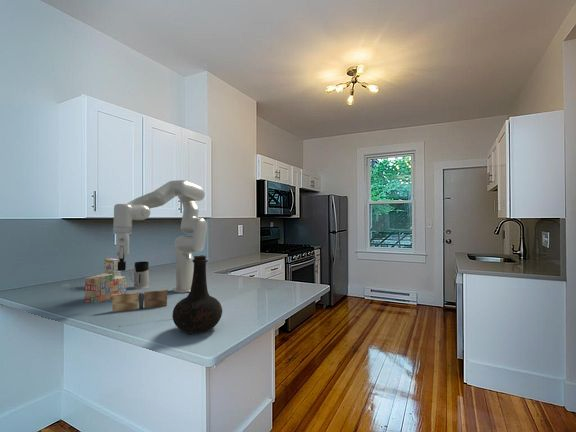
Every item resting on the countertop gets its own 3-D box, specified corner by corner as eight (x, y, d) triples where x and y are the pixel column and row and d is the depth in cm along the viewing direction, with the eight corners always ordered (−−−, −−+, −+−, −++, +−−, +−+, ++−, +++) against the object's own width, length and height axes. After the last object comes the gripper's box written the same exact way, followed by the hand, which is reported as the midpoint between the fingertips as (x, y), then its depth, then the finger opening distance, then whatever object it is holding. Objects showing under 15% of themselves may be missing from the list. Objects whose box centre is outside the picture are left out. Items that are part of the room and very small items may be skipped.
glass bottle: (161, 334, 111) (162, 257, 111) (193, 319, 128) (194, 252, 128) (202, 342, 105) (204, 260, 105) (230, 325, 122) (231, 254, 122)
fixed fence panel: (166, 305, 145) (167, 289, 145) (167, 306, 143) (167, 290, 144) (138, 308, 140) (139, 292, 140) (138, 310, 138) (139, 292, 138)
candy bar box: (103, 285, 187) (103, 258, 187) (111, 284, 191) (111, 258, 191) (113, 288, 181) (113, 260, 181) (121, 286, 185) (121, 259, 185)
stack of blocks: (116, 292, 172) (117, 270, 172) (126, 293, 170) (127, 270, 171) (84, 302, 151) (84, 277, 151) (95, 303, 150) (95, 278, 150)
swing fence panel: (138, 308, 140) (138, 292, 140) (138, 309, 138) (138, 292, 138) (112, 311, 135) (112, 294, 135) (111, 312, 134) (112, 295, 134)
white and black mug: (152, 286, 187) (152, 261, 187) (136, 291, 173) (136, 265, 173) (140, 285, 189) (140, 261, 189) (122, 290, 175) (123, 264, 175)
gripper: (131, 231, 137) (130, 272, 136) (132, 230, 150) (130, 267, 150) (112, 231, 133) (110, 273, 133) (114, 230, 147) (113, 268, 147)
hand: (121, 270), depth 142 cm, fingers closed
